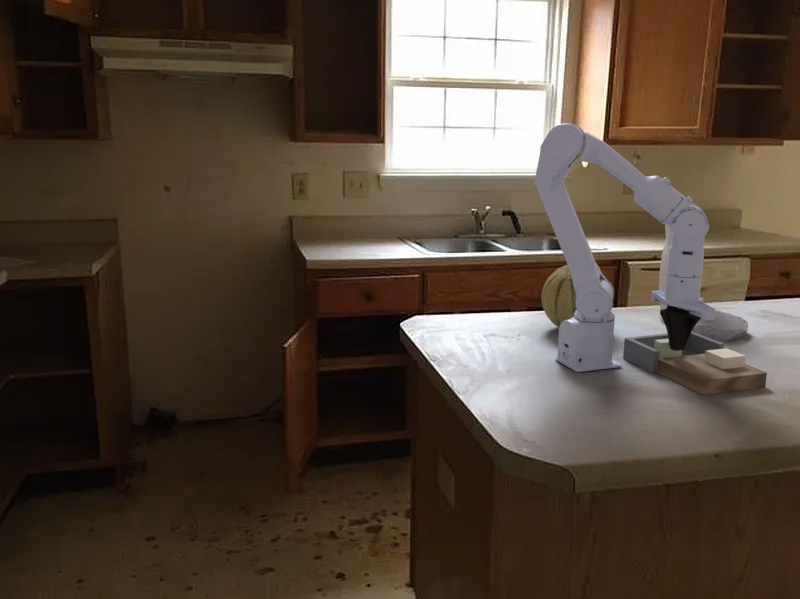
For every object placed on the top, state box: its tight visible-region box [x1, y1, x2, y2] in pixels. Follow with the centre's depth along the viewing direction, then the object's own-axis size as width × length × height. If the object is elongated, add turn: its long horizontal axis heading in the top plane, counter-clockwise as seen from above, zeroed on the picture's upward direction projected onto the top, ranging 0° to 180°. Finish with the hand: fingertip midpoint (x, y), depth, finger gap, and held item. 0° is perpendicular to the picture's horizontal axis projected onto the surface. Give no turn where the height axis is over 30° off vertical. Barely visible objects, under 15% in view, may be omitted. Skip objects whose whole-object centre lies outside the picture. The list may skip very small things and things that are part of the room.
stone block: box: [692, 310, 749, 343], centre depth 152 cm, size 12×5×10 cm
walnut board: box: [657, 354, 768, 396], centre depth 125 cm, size 12×12×2 cm
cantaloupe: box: [541, 264, 608, 328], centre depth 155 cm, size 15×15×15 cm
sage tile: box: [654, 339, 682, 359], centre depth 132 cm, size 4×4×2 cm
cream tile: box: [705, 348, 746, 369], centre depth 126 cm, size 4×4×2 cm
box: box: [622, 332, 725, 374], centre depth 135 cm, size 15×9×4 cm, turn 108°
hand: (677, 349), depth 129 cm, fingers closed
